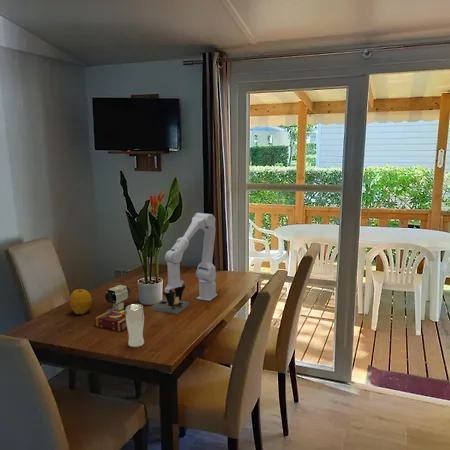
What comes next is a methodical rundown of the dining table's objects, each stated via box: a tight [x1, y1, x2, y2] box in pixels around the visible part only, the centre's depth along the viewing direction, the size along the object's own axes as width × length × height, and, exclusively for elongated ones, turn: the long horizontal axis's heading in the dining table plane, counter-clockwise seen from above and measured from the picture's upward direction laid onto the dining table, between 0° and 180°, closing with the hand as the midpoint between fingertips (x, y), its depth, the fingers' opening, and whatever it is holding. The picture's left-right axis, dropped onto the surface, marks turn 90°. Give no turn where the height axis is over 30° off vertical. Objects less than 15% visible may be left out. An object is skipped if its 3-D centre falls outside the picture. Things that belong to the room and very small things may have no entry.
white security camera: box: [104, 284, 131, 311], centre depth 190 cm, size 6×12×12 cm, turn 149°
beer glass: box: [125, 303, 145, 348], centre depth 154 cm, size 7×7×15 cm
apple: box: [69, 288, 93, 315], centre depth 186 cm, size 10×10×12 cm
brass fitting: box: [172, 294, 179, 307], centre depth 191 cm, size 4×4×6 cm
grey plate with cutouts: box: [151, 297, 190, 315], centre depth 192 cm, size 12×14×2 cm
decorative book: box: [93, 308, 128, 332], centre depth 174 cm, size 11×16×5 cm
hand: (174, 302), depth 191 cm, fingers open, 7 cm apart
